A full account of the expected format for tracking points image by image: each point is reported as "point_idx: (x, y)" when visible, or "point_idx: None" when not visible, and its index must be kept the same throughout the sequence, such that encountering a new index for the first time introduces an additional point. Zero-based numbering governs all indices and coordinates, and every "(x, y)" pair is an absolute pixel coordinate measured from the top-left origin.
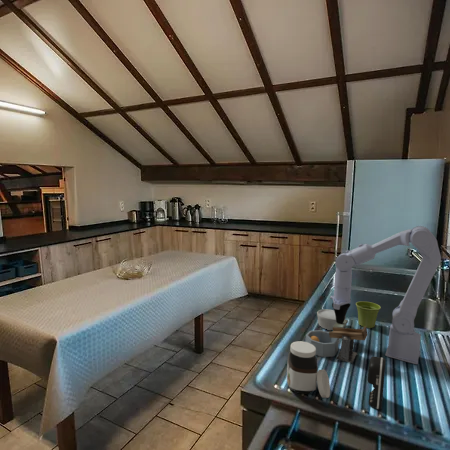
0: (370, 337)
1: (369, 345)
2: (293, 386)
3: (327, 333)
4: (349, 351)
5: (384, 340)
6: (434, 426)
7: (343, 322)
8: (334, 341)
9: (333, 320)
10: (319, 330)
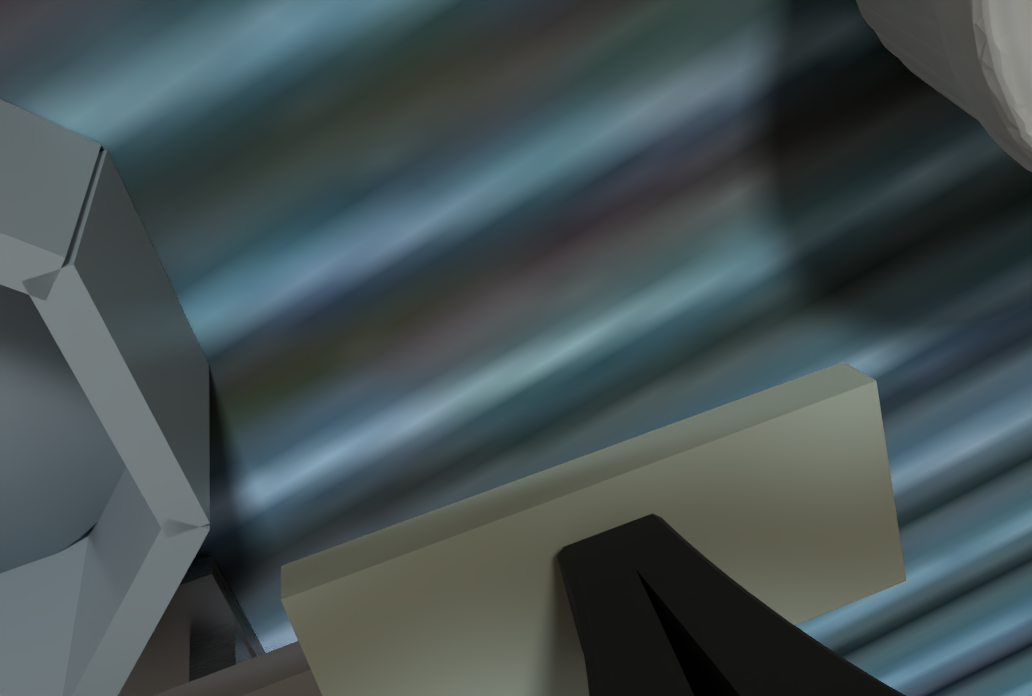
0: (966, 494)
1: None
2: None
3: (122, 442)
4: None
5: (977, 614)
6: None
7: None
8: (104, 574)
9: (974, 85)
10: (14, 257)
